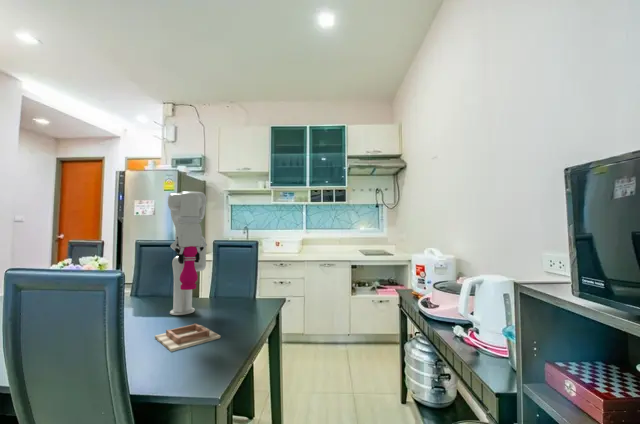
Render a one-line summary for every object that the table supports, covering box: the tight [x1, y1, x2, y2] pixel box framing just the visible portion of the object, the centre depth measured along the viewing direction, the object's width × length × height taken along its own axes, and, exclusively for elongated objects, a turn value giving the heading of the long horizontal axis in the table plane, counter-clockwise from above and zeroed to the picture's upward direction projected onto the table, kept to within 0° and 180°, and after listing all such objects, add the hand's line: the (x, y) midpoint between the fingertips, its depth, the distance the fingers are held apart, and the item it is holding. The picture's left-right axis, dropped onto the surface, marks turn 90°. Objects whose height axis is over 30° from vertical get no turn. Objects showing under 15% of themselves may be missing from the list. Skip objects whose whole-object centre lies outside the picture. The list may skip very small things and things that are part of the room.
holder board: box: [154, 323, 221, 352], centre depth 130 cm, size 20×20×3 cm
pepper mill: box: [180, 246, 199, 291], centre depth 130 cm, size 7×7×20 cm
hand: (188, 262), depth 131 cm, fingers closed on pepper mill, 5 cm apart
